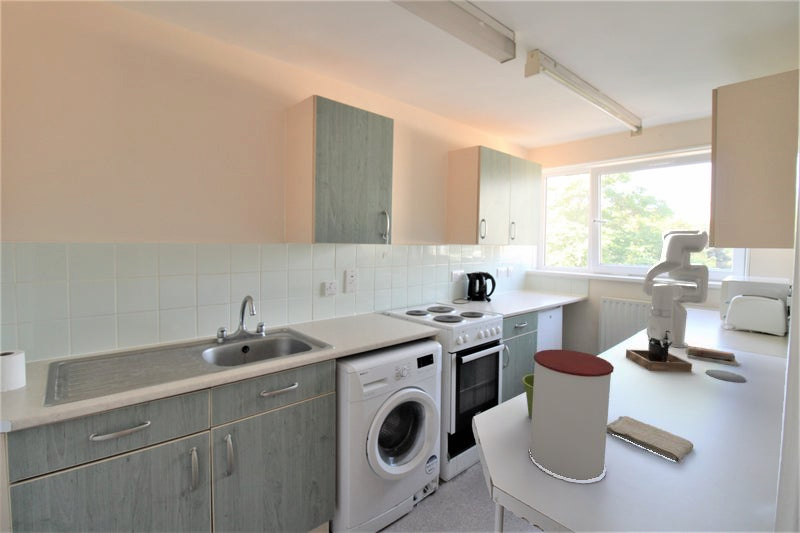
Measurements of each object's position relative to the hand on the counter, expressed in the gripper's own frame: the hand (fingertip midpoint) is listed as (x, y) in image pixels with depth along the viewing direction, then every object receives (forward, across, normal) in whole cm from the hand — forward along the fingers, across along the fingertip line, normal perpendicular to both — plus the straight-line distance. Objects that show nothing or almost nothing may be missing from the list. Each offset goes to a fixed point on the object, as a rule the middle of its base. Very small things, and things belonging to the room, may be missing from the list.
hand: (657, 352), depth 161 cm
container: (+4, +74, -68) cm, 101 cm away
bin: (+5, 0, 0) cm, 5 cm away
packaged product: (+6, -9, +30) cm, 32 cm away
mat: (+5, +12, +19) cm, 23 cm away
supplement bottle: (+5, 0, 0) cm, 5 cm away
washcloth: (+5, +63, -42) cm, 76 cm away
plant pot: (+4, +53, -67) cm, 86 cm away
